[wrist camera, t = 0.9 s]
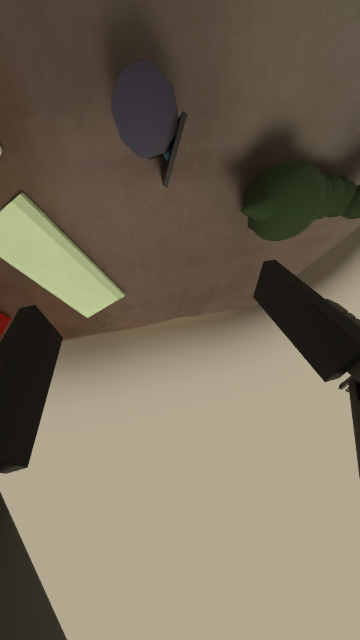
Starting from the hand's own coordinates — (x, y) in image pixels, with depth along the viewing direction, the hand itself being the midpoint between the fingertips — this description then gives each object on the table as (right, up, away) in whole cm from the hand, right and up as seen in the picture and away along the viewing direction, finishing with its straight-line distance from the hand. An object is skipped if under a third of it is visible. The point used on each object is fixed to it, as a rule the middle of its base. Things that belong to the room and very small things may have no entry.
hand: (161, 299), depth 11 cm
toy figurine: (+19, +20, +20) cm, 35 cm away
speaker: (-3, +22, +11) cm, 25 cm away
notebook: (-19, +7, +20) cm, 29 cm away
